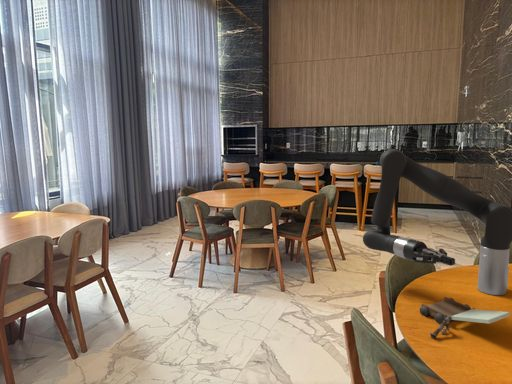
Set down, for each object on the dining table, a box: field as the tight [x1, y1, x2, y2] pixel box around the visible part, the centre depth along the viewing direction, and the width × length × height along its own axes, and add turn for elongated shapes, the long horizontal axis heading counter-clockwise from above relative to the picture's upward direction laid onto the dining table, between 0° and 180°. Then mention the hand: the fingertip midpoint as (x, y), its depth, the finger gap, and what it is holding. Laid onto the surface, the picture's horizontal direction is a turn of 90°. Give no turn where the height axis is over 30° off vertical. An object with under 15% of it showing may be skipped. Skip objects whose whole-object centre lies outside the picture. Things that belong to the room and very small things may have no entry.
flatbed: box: [419, 296, 475, 325], centre depth 124 cm, size 14×10×3 cm
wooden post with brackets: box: [429, 318, 450, 340], centre depth 113 cm, size 2×8×4 cm, turn 122°
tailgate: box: [451, 308, 511, 325], centre depth 114 cm, size 10×1×12 cm
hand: (453, 262), depth 121 cm, fingers closed
